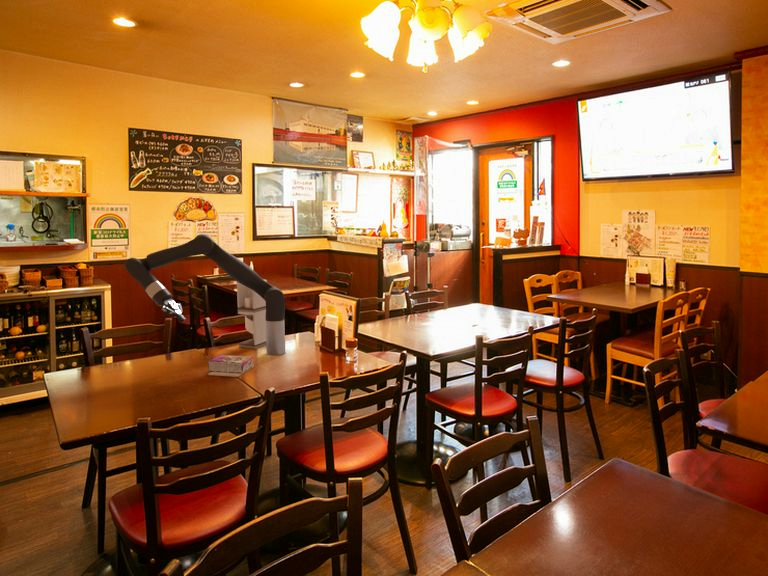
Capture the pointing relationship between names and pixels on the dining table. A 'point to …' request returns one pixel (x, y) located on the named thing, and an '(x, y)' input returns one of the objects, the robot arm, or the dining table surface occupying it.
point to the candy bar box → (231, 364)
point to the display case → (252, 316)
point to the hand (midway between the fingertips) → (184, 321)
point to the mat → (227, 373)
